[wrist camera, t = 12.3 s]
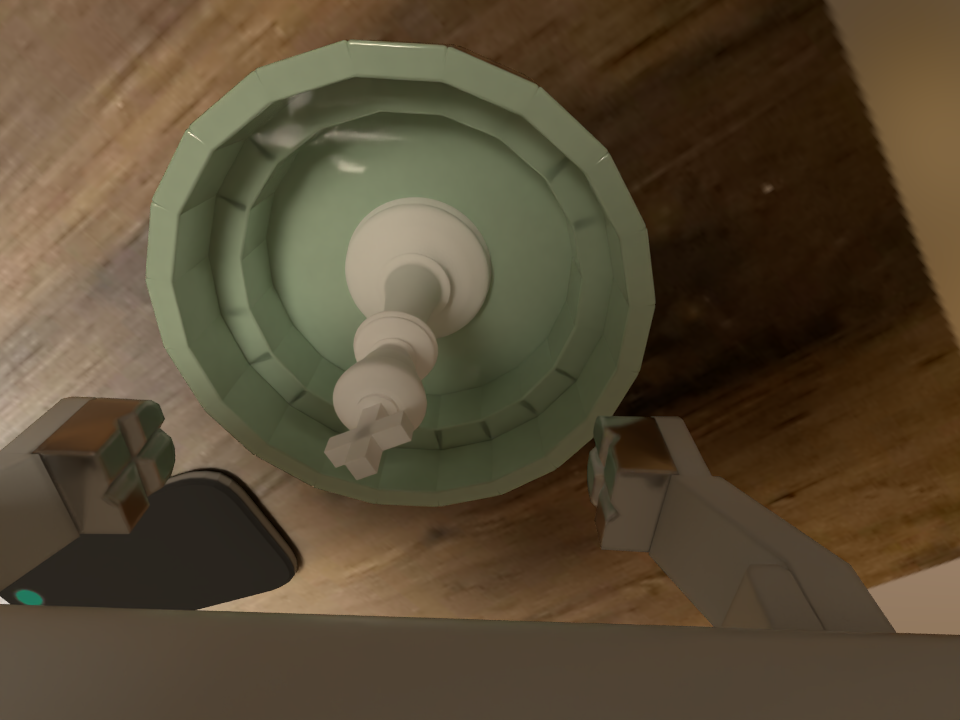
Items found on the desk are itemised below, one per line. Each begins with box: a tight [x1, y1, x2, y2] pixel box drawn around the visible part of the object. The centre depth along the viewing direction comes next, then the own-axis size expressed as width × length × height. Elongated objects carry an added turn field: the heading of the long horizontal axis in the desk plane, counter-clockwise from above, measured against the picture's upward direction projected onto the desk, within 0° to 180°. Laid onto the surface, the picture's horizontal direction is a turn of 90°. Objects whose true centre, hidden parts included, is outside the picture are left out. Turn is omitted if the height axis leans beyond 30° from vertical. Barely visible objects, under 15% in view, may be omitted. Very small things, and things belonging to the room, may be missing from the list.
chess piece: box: [324, 197, 492, 480], centre depth 14 cm, size 5×5×10 cm
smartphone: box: [0, 471, 297, 610], centre depth 26 cm, size 8×1×15 cm
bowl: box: [145, 39, 656, 507], centre depth 17 cm, size 13×13×5 cm
